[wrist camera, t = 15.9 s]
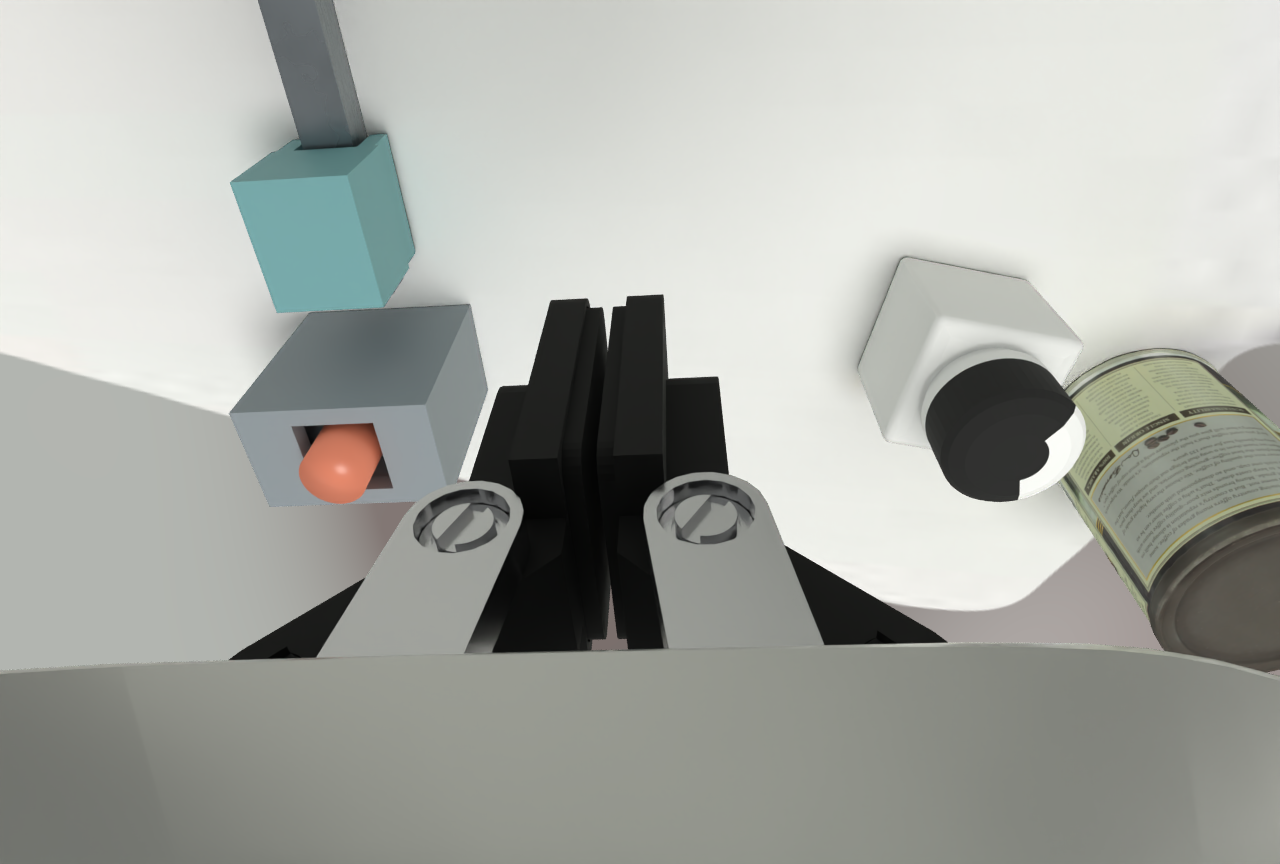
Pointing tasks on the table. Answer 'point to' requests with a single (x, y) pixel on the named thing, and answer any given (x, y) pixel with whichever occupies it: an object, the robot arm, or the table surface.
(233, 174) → the table surface
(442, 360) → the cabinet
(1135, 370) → the coffee can
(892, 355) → the medicine bottle
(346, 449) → the plunger
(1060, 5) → the table surface
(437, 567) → the robot arm
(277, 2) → the rail
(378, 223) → the block
